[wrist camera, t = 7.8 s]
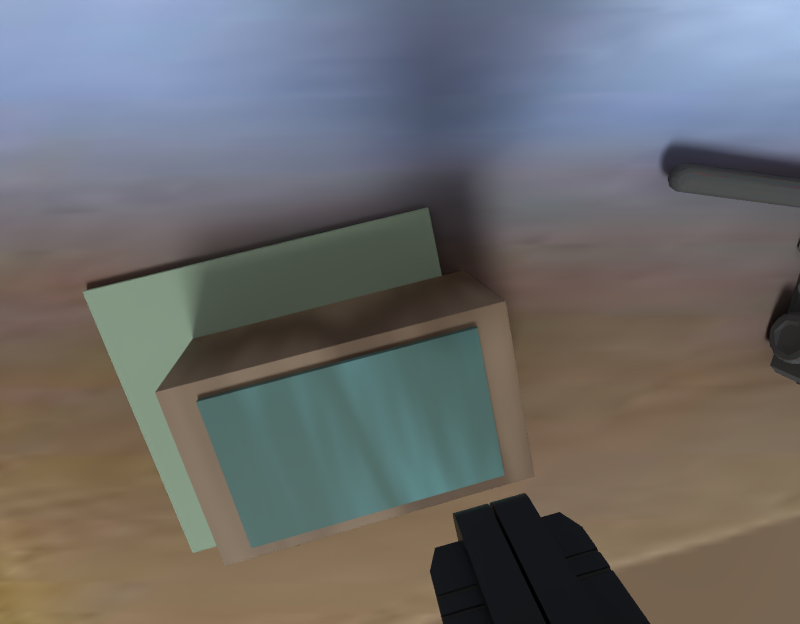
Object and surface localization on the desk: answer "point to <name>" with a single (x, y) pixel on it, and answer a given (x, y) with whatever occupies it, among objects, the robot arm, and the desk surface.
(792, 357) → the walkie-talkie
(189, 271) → the mat
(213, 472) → the brown teal box
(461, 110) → the desk surface
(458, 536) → the robot arm
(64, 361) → the desk surface
